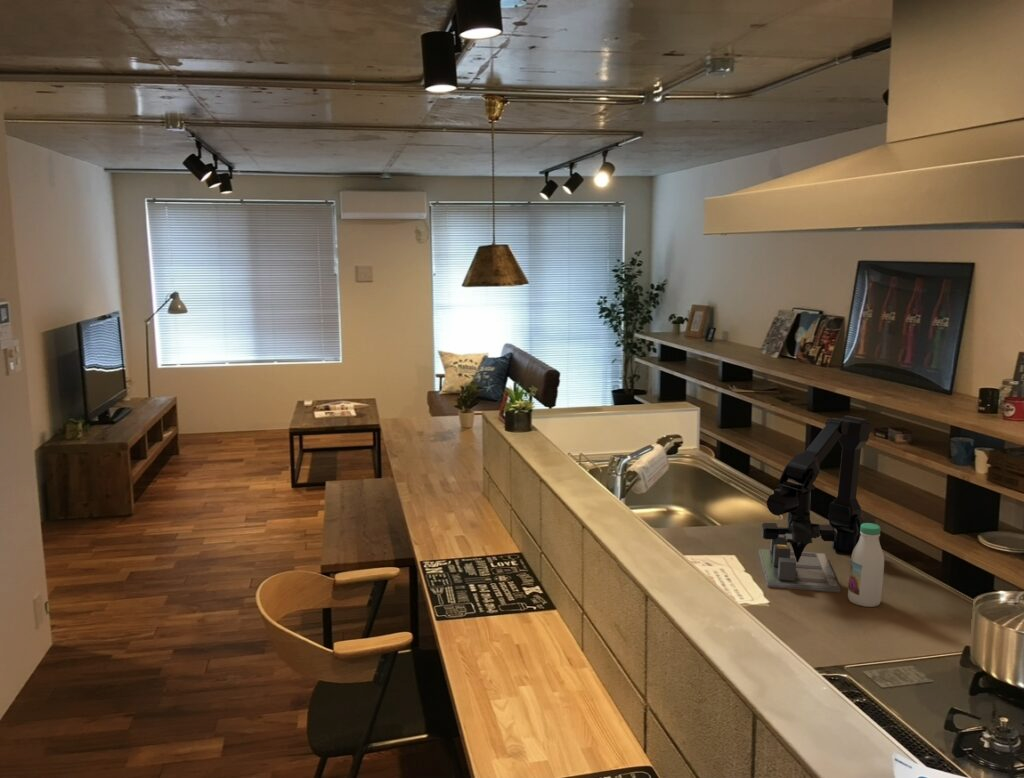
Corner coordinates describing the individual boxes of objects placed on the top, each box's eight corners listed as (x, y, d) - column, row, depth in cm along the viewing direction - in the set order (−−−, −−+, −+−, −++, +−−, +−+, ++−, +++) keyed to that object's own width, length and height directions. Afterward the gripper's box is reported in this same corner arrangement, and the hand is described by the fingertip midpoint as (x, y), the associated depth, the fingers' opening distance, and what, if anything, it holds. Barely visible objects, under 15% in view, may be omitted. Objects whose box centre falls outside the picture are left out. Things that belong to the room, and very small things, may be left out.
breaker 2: (793, 576, 222) (794, 558, 221) (794, 580, 219) (796, 562, 218) (777, 574, 223) (778, 557, 222) (779, 579, 220) (780, 561, 219)
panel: (824, 557, 238) (824, 552, 238) (839, 592, 216) (840, 587, 216) (758, 553, 242) (759, 548, 241) (767, 586, 219) (767, 581, 219)
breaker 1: (784, 550, 240) (785, 533, 239) (786, 554, 237) (787, 537, 236) (770, 549, 240) (771, 532, 239) (771, 553, 237) (772, 536, 236)
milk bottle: (881, 597, 213) (888, 523, 209) (880, 610, 206) (887, 533, 202) (848, 592, 216) (854, 518, 213) (846, 604, 210) (853, 528, 206)
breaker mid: (787, 562, 231) (789, 544, 230) (789, 567, 228) (790, 549, 227) (772, 561, 232) (773, 543, 231) (773, 565, 229) (775, 547, 228)
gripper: (766, 516, 220) (764, 572, 223) (841, 518, 216) (839, 575, 219) (761, 502, 231) (760, 556, 233) (833, 504, 227) (831, 558, 230)
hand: (797, 561), depth 229 cm, fingers closed
